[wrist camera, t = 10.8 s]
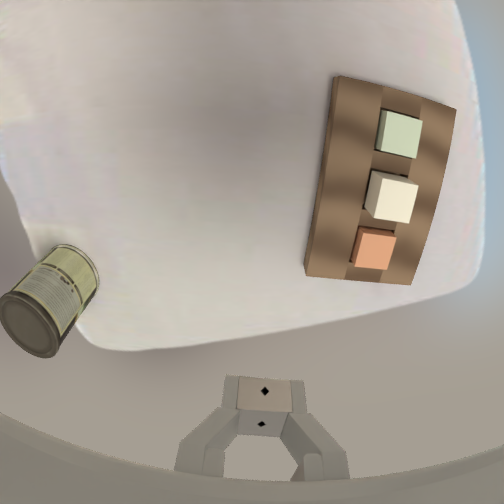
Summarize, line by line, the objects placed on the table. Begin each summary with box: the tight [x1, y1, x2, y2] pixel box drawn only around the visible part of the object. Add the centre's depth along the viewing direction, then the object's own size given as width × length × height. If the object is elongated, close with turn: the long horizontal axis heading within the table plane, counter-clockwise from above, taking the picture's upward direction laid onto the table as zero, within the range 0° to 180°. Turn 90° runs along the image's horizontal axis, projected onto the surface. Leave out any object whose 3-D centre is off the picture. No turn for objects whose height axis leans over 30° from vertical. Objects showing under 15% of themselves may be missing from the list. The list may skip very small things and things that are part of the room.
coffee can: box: [0, 245, 99, 358], centre depth 38 cm, size 10×10×14 cm
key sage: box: [374, 110, 423, 159], centre depth 31 cm, size 4×4×4 cm
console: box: [304, 76, 456, 285], centre depth 36 cm, size 24×15×3 cm, turn 174°
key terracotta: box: [350, 225, 397, 270], centre depth 38 cm, size 4×4×4 cm
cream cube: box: [364, 171, 418, 223], centre depth 33 cm, size 4×4×4 cm
